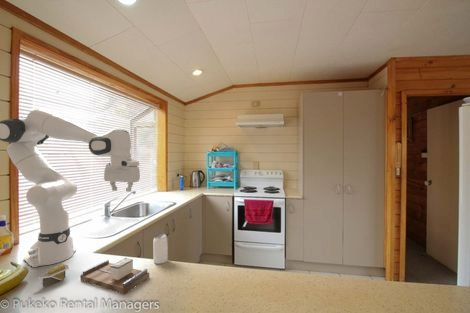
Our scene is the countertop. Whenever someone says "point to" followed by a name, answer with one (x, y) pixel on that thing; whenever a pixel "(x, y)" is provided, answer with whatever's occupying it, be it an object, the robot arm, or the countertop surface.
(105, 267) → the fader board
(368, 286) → the countertop surface
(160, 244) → the can
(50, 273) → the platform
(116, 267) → the white lidded box
